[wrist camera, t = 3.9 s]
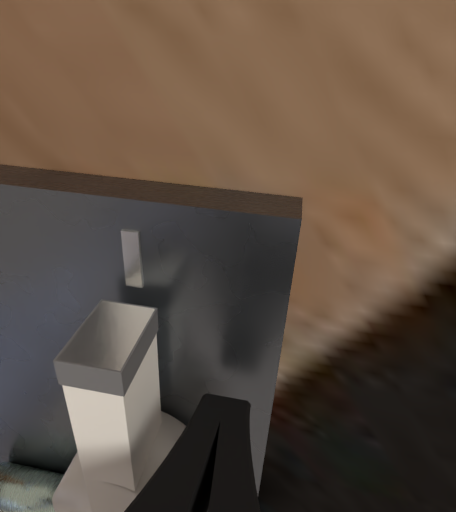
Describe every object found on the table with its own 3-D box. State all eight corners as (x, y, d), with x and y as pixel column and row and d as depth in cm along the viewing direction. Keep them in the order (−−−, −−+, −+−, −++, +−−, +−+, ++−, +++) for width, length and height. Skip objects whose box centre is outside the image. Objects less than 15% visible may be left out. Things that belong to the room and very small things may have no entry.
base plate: (253, 518, 19) (243, 600, 17) (15, 466, 21) (-30, 532, 18) (302, 197, 11) (300, 254, 8) (-103, 153, 13) (-223, 186, 10)
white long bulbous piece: (201, 488, 16) (182, 570, 13) (99, 466, 16) (63, 542, 14) (206, 307, 11) (177, 383, 9) (64, 286, 12) (1, 351, 9)
